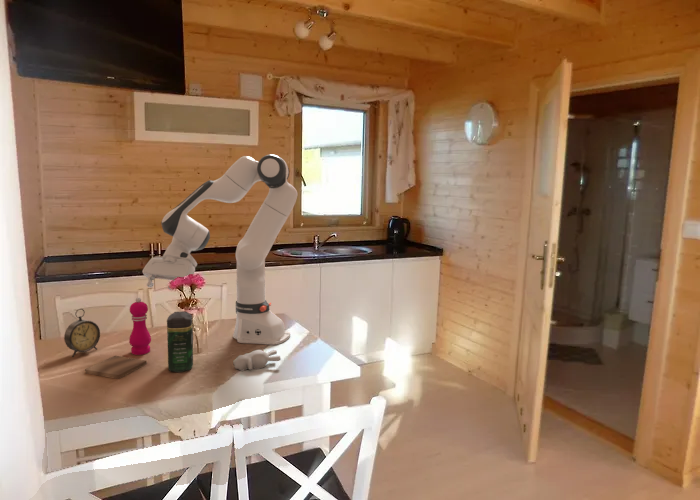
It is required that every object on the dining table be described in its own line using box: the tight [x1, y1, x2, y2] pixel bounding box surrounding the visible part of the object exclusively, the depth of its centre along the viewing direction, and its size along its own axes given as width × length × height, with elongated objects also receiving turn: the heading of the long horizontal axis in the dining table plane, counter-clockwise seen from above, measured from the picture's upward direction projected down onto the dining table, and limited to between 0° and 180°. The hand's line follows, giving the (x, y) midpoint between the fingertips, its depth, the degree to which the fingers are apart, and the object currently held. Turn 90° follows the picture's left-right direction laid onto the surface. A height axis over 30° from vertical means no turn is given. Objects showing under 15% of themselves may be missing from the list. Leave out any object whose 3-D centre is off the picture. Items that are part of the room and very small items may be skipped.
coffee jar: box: [166, 311, 194, 373], centre depth 167 cm, size 10×8×19 cm
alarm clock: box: [63, 308, 101, 358], centre depth 178 cm, size 11×5×16 cm, turn 148°
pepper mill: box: [128, 297, 152, 356], centre depth 180 cm, size 7×7×20 cm
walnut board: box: [84, 355, 148, 380], centre depth 167 cm, size 13×13×1 cm
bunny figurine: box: [232, 349, 282, 372], centre depth 171 cm, size 10×5×15 cm
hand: (159, 287), depth 189 cm, fingers open, 8 cm apart
